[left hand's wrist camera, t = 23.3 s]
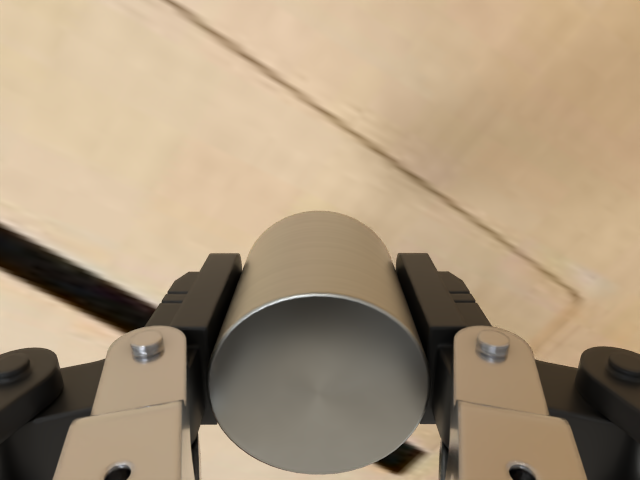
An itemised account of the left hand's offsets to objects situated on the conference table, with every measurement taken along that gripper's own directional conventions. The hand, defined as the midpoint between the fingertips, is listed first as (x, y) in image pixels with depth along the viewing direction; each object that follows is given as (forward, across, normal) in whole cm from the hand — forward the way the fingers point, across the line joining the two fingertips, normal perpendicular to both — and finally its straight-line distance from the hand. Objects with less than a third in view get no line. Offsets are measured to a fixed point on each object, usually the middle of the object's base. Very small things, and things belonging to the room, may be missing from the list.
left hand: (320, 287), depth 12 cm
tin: (0, 0, 0) cm, 0 cm away
